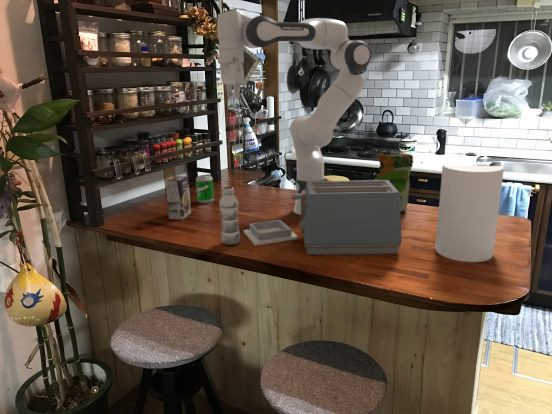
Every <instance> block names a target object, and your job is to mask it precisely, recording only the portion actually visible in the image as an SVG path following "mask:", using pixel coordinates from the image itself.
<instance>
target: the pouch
mask: <svg viewBox="0 0 552 414" xmlns="http://www.w3.org/2000/svg"><path fill="white" fill-rule="evenodd" d="M376 156H377V158H378V163H379V167H377V168H378V170H379V173H378V174H377V176H376V180H389V181H390V183H391V184H392V185H393V186H394V187H395V188H396V189H397V191H398V192H399V197H400V213H402V212H406V211H407V207H408V203H409V191H410V184H411V183H410V174H411V172H412V171H411V170H412V168H413V166H414V165H413V164H414V159H413V158H414V156H413V155H412V154H409V153H405V154H397V153H395V152H393V154H388V153H386V154H384V153H382V152H378V153H376Z"/></svg>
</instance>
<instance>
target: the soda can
mask: <svg viewBox="0 0 552 414" xmlns="http://www.w3.org/2000/svg"><path fill="white" fill-rule="evenodd" d="M195 184H196V186H195V187H196V199H197V202H199V204H210V203H212V202H213V201H214V200H215V196H214V195H215V194H214V180H213V177H212V176H211V175H210V174H201V175H198V176H197V177H196V178H195Z"/></svg>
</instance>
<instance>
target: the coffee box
mask: <svg viewBox="0 0 552 414" xmlns="http://www.w3.org/2000/svg"><path fill="white" fill-rule="evenodd" d="M165 185H166V198H167V199H166V201H167V209H168V211H167V212H168V219H169V220H180V221H181V220H182V221H183V220H184V219H186V218H187V217H188V216H189V215H191V214H192V209H191V208H192V207H191V198H190V197H191V196H190V195H191V194H190V185H189V176H187V175H185V176H184V175H183V176H182V175H181V176H178V175H177V176H176V175H175V176H173V177H171V178H169V179H167V180H165Z"/></svg>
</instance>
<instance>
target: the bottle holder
mask: <svg viewBox="0 0 552 414" xmlns="http://www.w3.org/2000/svg"><path fill="white" fill-rule="evenodd" d="M248 227H249V229H248V228H247V229H243V233H244V235H245V236H246V237H247V238H248V239H249V241H250V242H251V243H252V244H253V246H261V245H267V244H274V243H280V242H286V241H287V242H288V241H294V240H298V239H299V236H298V235H297V234H296V233H295V232H294V231H292V230H293V229H292V228H290V227H289V226H288V225H287V224H286V223H285V222H284V221H282V220H281V219H275V220H268V221H267V220H266V221H262V222H259V221H258V222H254V223H253V222H252V223H249V225H248Z"/></svg>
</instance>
